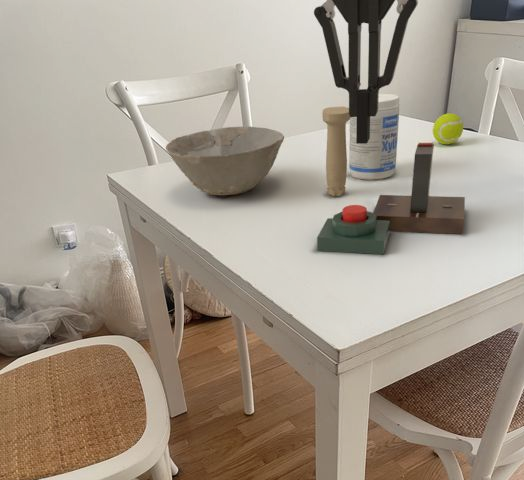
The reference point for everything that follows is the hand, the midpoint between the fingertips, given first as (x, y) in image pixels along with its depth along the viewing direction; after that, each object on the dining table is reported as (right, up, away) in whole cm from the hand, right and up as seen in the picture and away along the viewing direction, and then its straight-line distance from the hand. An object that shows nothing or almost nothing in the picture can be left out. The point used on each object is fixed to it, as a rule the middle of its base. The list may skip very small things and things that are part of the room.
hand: (363, 140), depth 76 cm
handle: (0, 0, +27) cm, 27 cm away
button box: (0, -13, +8) cm, 15 cm away
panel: (+12, -8, +13) cm, 19 cm away
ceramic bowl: (-21, +3, +34) cm, 40 cm away
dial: (+11, -6, +12) cm, 17 cm away
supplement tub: (+9, +7, +36) cm, 37 cm away
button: (0, -10, +6) cm, 11 cm away
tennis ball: (+29, +19, +50) cm, 61 cm away
